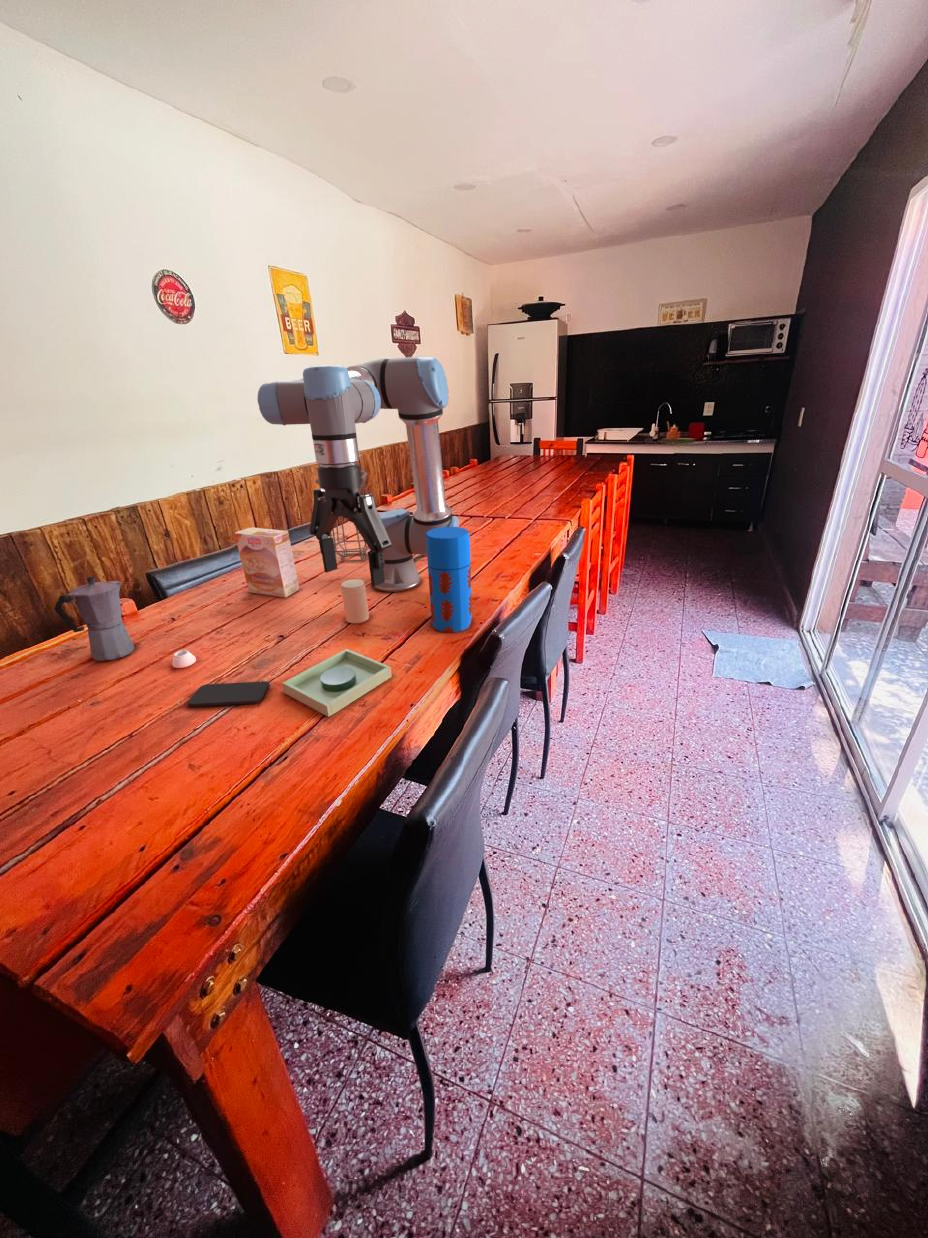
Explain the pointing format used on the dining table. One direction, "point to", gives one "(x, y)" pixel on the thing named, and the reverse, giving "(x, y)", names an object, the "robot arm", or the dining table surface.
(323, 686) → the jar lid
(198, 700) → the phone
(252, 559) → the coffeecake box
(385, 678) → the tray
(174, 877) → the dining table surface
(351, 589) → the jar
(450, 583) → the thermos
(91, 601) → the moka pot
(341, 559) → the geometric lantern
